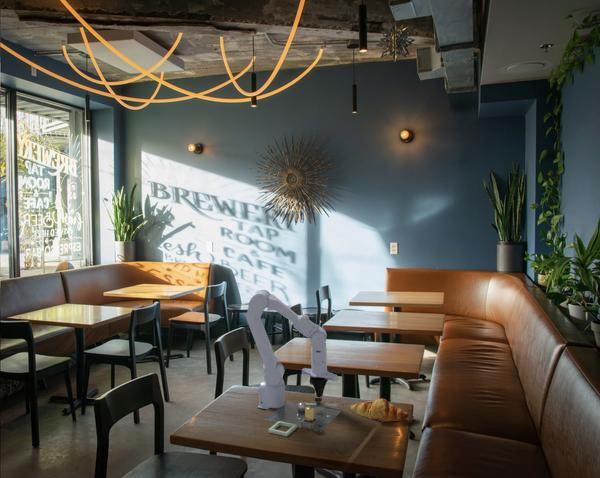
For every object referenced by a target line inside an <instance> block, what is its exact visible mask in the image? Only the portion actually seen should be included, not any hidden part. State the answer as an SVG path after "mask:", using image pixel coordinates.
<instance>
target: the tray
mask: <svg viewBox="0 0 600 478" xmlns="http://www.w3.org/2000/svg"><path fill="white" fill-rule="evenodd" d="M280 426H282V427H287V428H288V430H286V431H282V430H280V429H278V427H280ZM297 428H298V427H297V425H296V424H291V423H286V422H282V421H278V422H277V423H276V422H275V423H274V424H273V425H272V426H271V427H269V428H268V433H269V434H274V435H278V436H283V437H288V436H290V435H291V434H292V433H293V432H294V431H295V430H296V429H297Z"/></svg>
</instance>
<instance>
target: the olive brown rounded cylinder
mask: <svg viewBox="0 0 600 478" xmlns="http://www.w3.org/2000/svg"><path fill="white" fill-rule="evenodd" d="M305 422H309V423H313V422H314V408H313V407H311V406H308V407H305Z"/></svg>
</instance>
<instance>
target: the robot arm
mask: <svg viewBox="0 0 600 478" xmlns="http://www.w3.org/2000/svg"><path fill="white" fill-rule="evenodd" d="M247 305H248V307H247V312H246V317H245V318H246V322H247V325H248V327H249V329H250V332H251V335H252V337H253V341H254V342H255V345H256V347H257V352H258V353H259V355H260V358H261V361H262V366H263V367H262V368H263V369H262V370H263V372H264V381H262V382H260V384H259V385H258V386H259V388H258V406H257V408H259V409H263V410H269V409H271V408H272V409H278V408H280V407H282V406H284V405H285V403H286V397H285V396H286V395H285V393H286V392H285V391H286V390H285V387H286V386H285V380H284V377H283V376H284V375H285V367H284V365H283V364H282V363H281V362H280V361H279V358H278V357H277V356H276V354H275V352H274V350H273V349H274V348H273V346H272V344H271V341H270V339H269V335H268V334H267V331H266V329H265V325H264V323H263V320H262V318H261V317H262V315H263V314H264V311H265V310H266V311H267V312H268V311H269V312H271V311H272V312H273V311H276V312H277V314H280V315H281V316H283V317H284V318H285V319H288V321H290V322H291V323H292V324H293V328H294V329H295V330H297V331H298V332H299V333H300V334H301V335H303V336H304V337H306V338H307V339H309V342H310V343H311V349H310V353H311V355H310V356H311V358H310V359H311V360H310V361H311V365H310V366H311V368H306V367H304V368H302V369H301V374H302V375H303V376H305V375H307V376H310V377H311V378H310V382H311V383H312V384H311V385H312V386H313V389H314V391H315V394H316V398H322V397H323V395H324V391H325V387H326V384H327V382H328V381H332V382H333V383H334V382H335V383H336V381H338V375H337V374H334V373H332V372H330V371H328V366H327V365H328V364H327V362H328V359H327V358H328V357H327V335H328V334H327V331H326V329H325V328H324V327H323V326H320V325H319V324H318V323H317V324H316V323H314V322H313V321H312V320H310V317H309V316H308V315H304V314H301V315H299V314H297V313H296V312H294V310H292V309H291V308H290V307H289V306H287V305H286V304H285V303H284V302H283V301H282V300H280V299H279V298H278V297H277V296H276V295H275V294H272V293H270V292H269V291H268V290H266V289H259V290H258V291H257V292H256V293H255V294H254V295H252V297H251V298H250V300H249V302H248V304H247Z"/></svg>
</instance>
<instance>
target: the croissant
mask: <svg viewBox="0 0 600 478" xmlns="http://www.w3.org/2000/svg"><path fill="white" fill-rule="evenodd" d="M350 410H351V412H353V413H354V414H356V415H359V416H361V417H365V418H367V419H368V418H369V419H370V420H378V421H383V422H399V421H404V420H406V419H408V417H409V412H408V411H403V409H401V408H399V407H396V406H395V405H394V404H393V403H391V402H389V401H388V400H387V399H386V398H379V399H376V400H367V401H365V402H357V403H355V404H351V405H350ZM383 422H382V423H383Z"/></svg>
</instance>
